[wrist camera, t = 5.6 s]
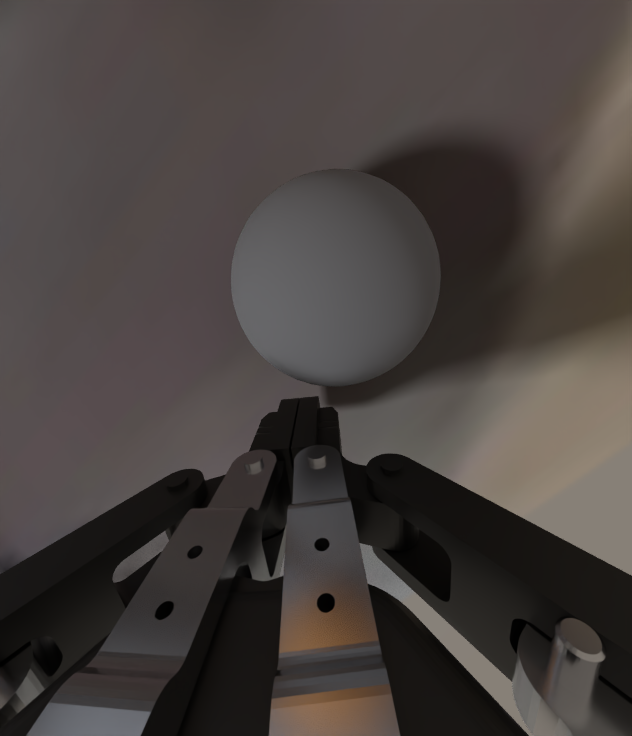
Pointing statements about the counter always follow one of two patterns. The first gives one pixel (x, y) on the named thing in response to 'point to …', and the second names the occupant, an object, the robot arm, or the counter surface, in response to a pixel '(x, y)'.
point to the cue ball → (335, 277)
